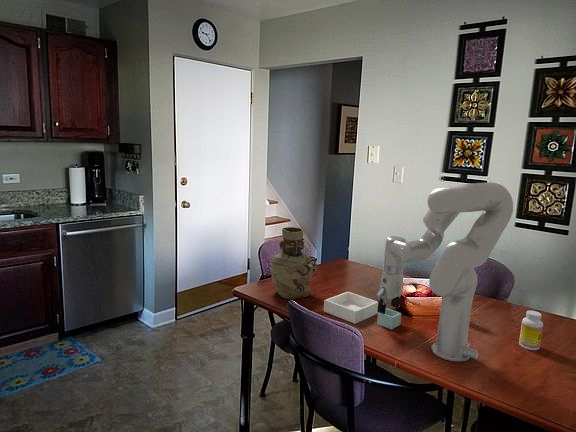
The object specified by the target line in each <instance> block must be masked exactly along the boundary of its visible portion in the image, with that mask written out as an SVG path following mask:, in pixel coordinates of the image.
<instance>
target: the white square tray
mask: <svg viewBox="0 0 576 432" xmlns="http://www.w3.org/2000/svg"><path fill="white" fill-rule="evenodd" d="M323 301H324V302H323V312H324V313H327V314H329V315H332V316H335V317H337V318H339V319H342V320H344V321H346V322H350V323H352V324H354V325H356V324H357V323H360V322H362V321H364V320H367V319H369V318H371V317H373V316H376V315H378V311H377V310H378V301H377V300H374V299H371V298H368V297H365V296H363V295H359V294H357V293H353V292H351V291H345V292H343V293H340V294H338V295H334V296H332V297H329V298H326V299H324V300H323Z"/></svg>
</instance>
